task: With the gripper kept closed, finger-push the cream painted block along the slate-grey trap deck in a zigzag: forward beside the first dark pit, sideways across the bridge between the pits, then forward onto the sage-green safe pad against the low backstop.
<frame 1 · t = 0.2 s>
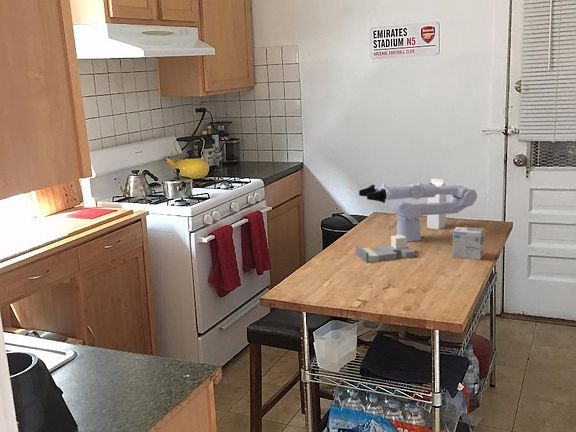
hand: (363, 194, 270), 21 cm above the table, tool horizontal, fingers open, 7 cm apart
trap deck: (385, 255, 259), on the table
light bulb box: (467, 256, 255), on the table
block: (398, 246, 263), point 2 cm above the table, touching trap deck
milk: (436, 227, 298), on the table
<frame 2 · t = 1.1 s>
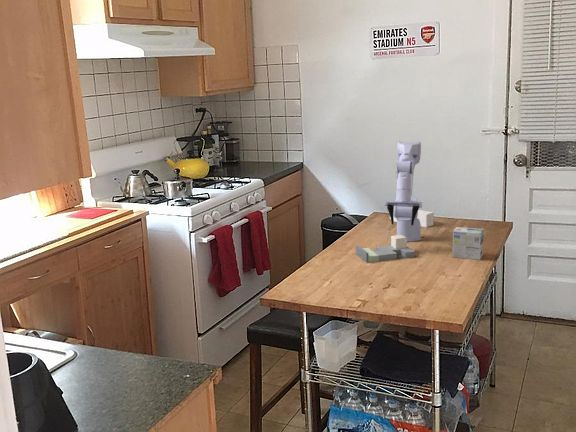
hand: (402, 224, 261), 11 cm above the table, tool tilted 20°, fingers open, 7 cm apart
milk: (430, 219, 299), point 3 cm above the table
everything else where it was.
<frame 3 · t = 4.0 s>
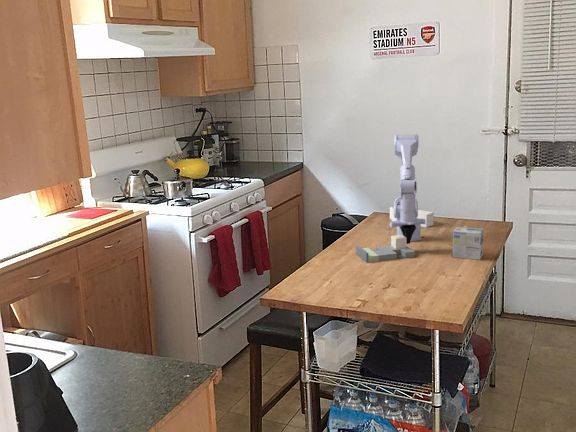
hand: (407, 243, 264), 3 cm above the table, tool pointing down, fingers closed
block: (398, 246, 263), point 2 cm above the table, touching gripper
everything else where it was.
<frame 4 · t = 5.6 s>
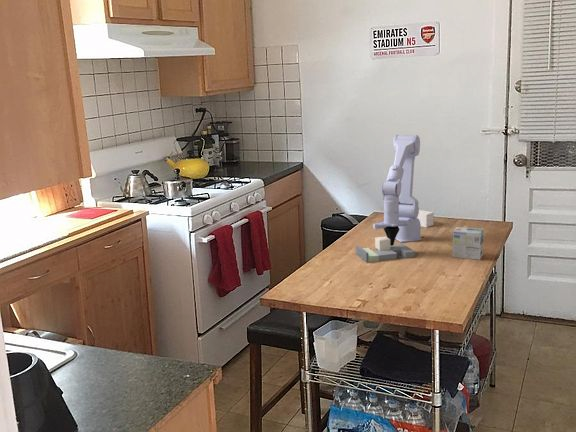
hand: (391, 244, 262), 3 cm above the table, tool pointing down, fingers closed
block: (382, 248, 261), point 2 cm above the table, touching gripper, trap deck
everything else where it was.
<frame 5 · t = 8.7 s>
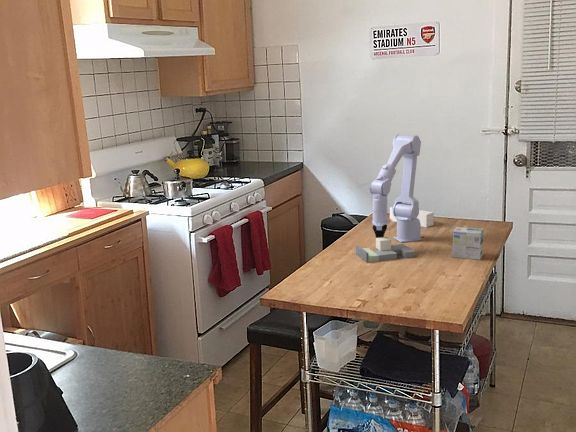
hand: (379, 243, 265), 3 cm above the table, tool pointing down, fingers closed
block: (383, 248, 261), point 2 cm above the table, touching gripper
everything else where it was.
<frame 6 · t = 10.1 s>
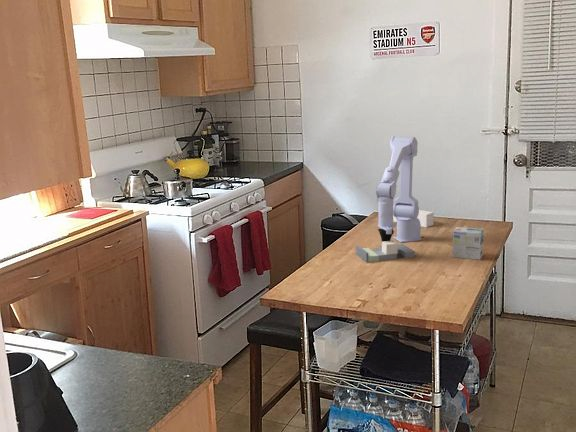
hand: (385, 247, 259), 3 cm above the table, tool pointing down, fingers closed
block: (389, 252, 255), point 2 cm above the table, touching gripper, trap deck
everything else where it was.
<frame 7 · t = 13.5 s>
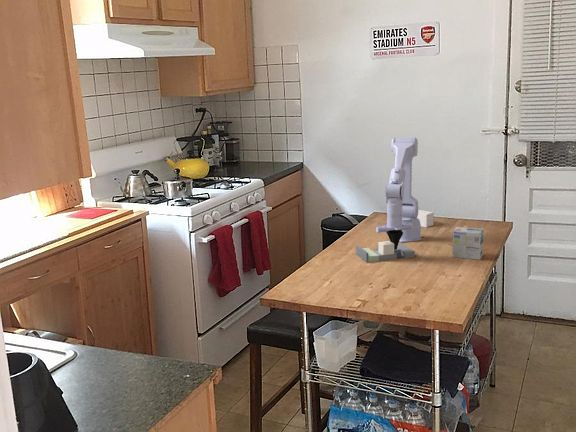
hand: (394, 248, 256), 3 cm above the table, tool pointing down, fingers closed
block: (386, 252, 255), point 2 cm above the table, touching gripper
everything else where it was.
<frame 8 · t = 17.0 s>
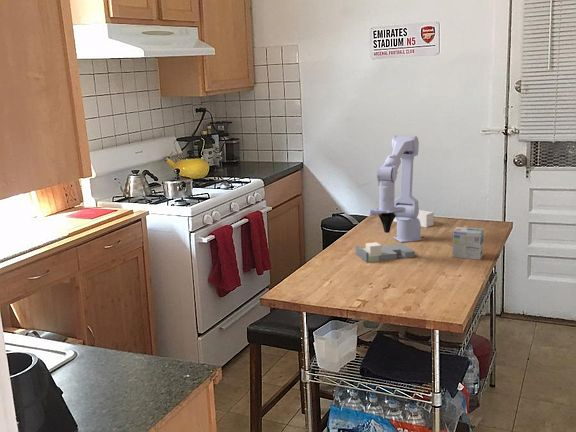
hand: (386, 232, 255), 10 cm above the table, tool pointing down, fingers closed
block: (373, 254, 254), point 2 cm above the table, touching trap deck
everything else where it was.
at the end: block 0.9 cm from the target spot on the trap deck, point 2.2 cm above the trap deck's base; block tilted 0° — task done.
